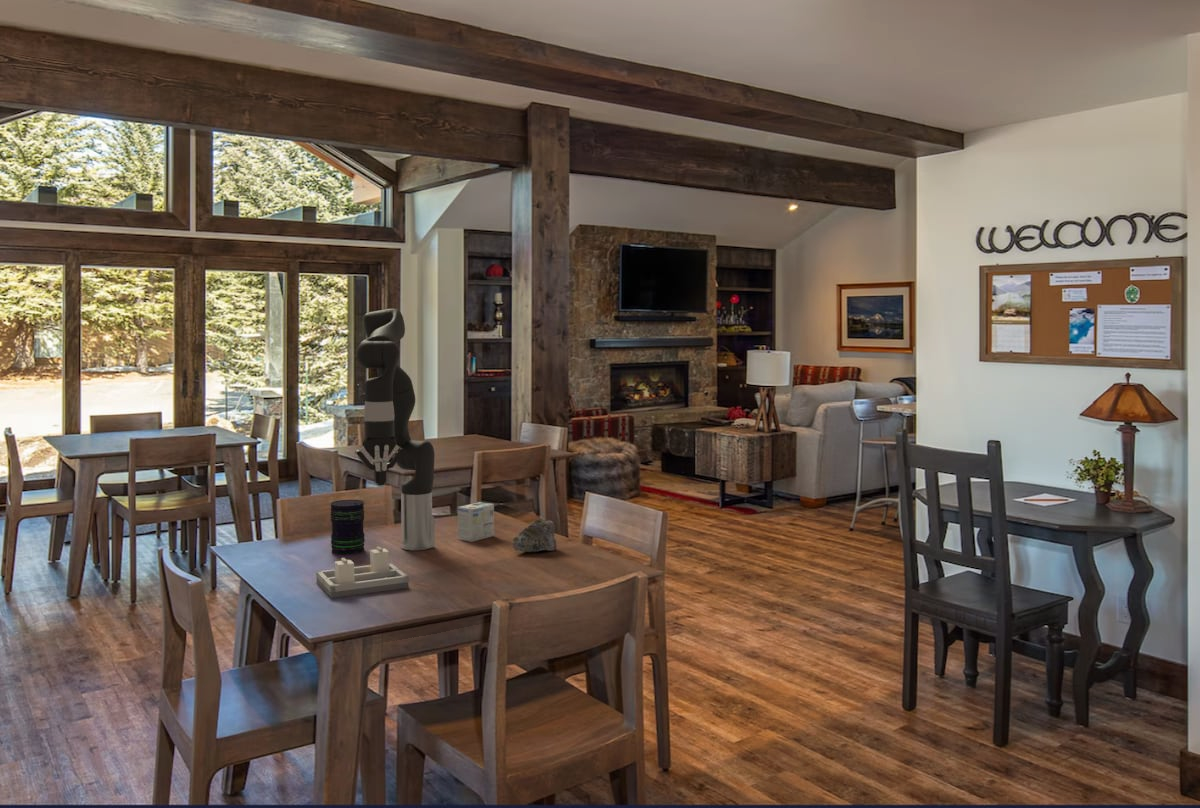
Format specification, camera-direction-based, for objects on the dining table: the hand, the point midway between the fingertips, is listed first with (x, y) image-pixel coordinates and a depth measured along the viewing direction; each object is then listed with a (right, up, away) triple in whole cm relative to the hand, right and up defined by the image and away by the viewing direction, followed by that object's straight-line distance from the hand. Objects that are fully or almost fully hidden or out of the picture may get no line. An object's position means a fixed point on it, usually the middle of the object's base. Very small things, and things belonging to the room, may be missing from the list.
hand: (380, 484), depth 241 cm
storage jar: (-19, -24, +40) cm, 50 cm away
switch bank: (-6, -27, +4) cm, 28 cm away
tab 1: (-8, -26, -3) cm, 27 cm away
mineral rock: (+37, -24, +42) cm, 61 cm away
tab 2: (-2, -25, +10) cm, 27 cm away
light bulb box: (+17, -23, +59) cm, 66 cm away
